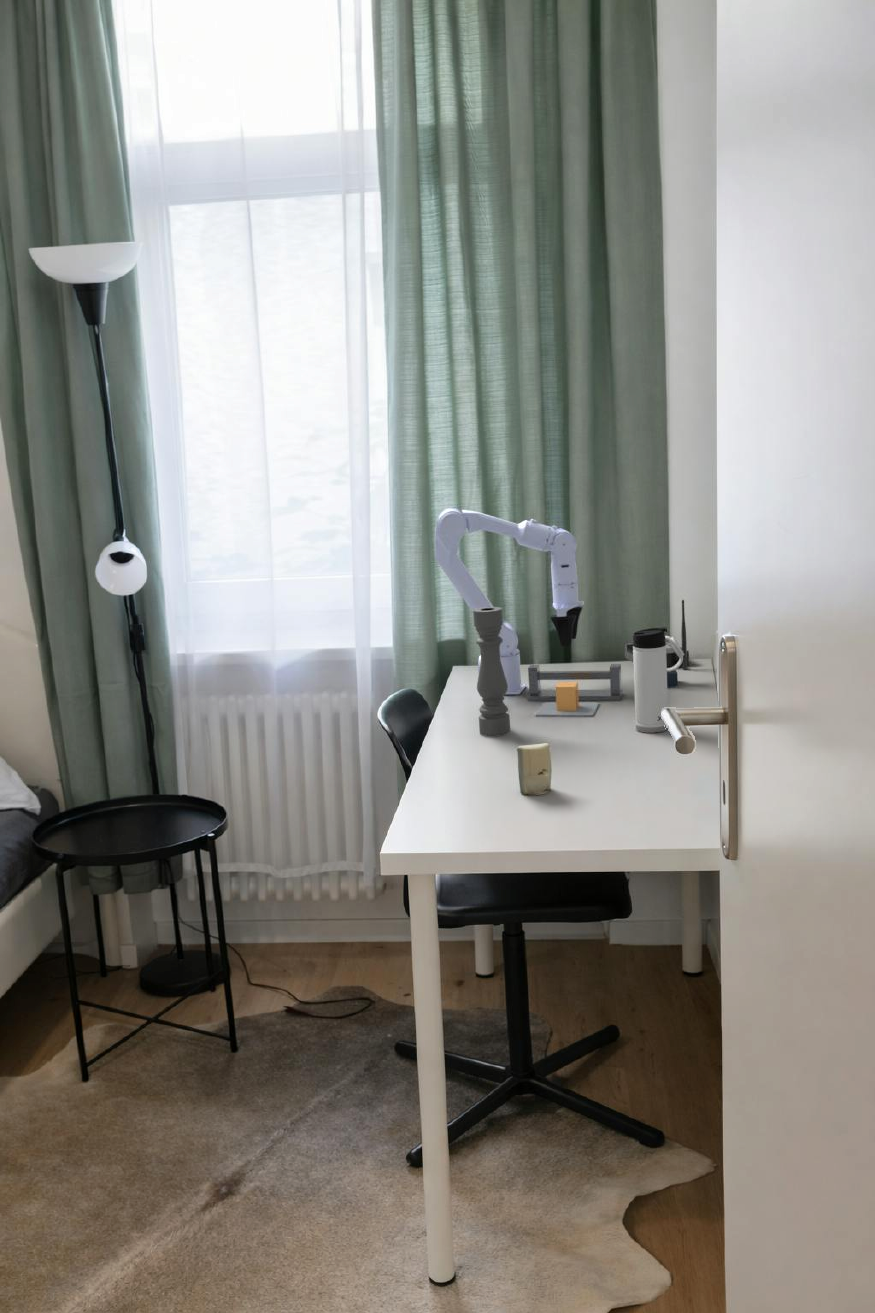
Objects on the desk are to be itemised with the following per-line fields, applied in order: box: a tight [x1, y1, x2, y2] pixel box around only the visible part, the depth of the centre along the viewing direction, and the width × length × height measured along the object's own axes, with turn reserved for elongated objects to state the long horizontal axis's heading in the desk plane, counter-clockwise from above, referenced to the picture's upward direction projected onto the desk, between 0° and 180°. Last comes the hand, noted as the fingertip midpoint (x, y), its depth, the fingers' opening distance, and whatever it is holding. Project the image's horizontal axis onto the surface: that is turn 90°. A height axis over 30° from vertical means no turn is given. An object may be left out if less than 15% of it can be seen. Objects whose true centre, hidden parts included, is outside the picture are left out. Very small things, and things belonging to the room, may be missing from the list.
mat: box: [535, 701, 600, 717], centre depth 238 cm, size 12×10×1 cm
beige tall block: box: [516, 742, 553, 796], centre depth 187 cm, size 6×5×8 cm
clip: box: [555, 681, 580, 711], centre depth 237 cm, size 4×4×5 cm
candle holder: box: [472, 606, 511, 737], centre depth 223 cm, size 6×6×25 cm
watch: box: [665, 635, 684, 688], centre depth 253 cm, size 6×8×11 cm
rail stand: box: [527, 663, 623, 702], centre depth 247 cm, size 20×6×7 cm, turn 74°
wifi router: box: [624, 599, 690, 670], centre depth 274 cm, size 20×14×17 cm
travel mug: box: [632, 626, 669, 734], centre depth 217 cm, size 6×7×20 cm
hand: (568, 642), depth 256 cm, fingers open, 7 cm apart
